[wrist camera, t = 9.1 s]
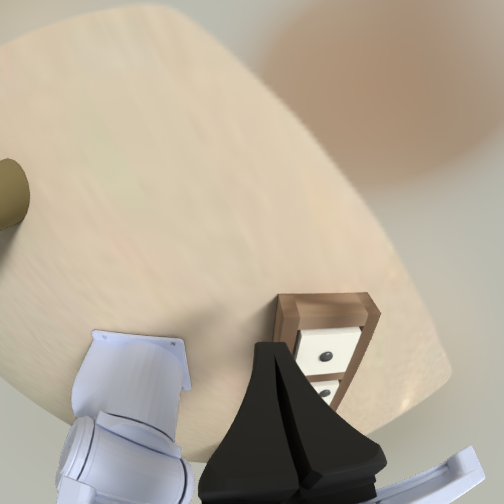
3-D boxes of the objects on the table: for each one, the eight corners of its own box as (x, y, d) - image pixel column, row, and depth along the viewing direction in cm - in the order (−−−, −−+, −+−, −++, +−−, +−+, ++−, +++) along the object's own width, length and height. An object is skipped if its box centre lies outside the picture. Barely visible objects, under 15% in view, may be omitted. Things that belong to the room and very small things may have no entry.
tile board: (259, 424, 32) (260, 442, 29) (278, 293, 22) (283, 317, 19) (316, 419, 32) (320, 437, 30) (367, 292, 23) (381, 313, 20)
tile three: (278, 392, 28) (281, 416, 25) (284, 365, 26) (289, 390, 23) (321, 389, 28) (327, 411, 25) (331, 362, 26) (339, 385, 23)
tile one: (287, 352, 25) (292, 378, 22) (294, 311, 22) (302, 337, 20) (336, 349, 25) (345, 373, 22) (349, 309, 23) (362, 333, 20)
